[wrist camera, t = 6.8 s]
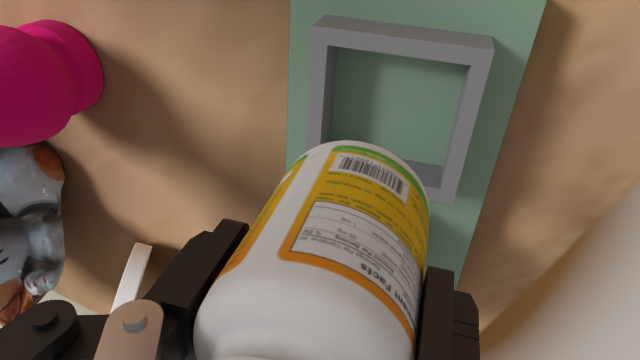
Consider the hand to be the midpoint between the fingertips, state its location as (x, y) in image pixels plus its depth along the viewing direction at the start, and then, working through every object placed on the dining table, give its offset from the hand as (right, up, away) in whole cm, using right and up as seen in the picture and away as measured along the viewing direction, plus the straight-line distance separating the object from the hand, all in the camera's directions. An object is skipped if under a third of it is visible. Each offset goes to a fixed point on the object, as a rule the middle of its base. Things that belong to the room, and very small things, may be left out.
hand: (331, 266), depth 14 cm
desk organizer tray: (+4, +4, +15) cm, 16 cm away
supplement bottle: (+1, +2, +3) cm, 4 cm away
